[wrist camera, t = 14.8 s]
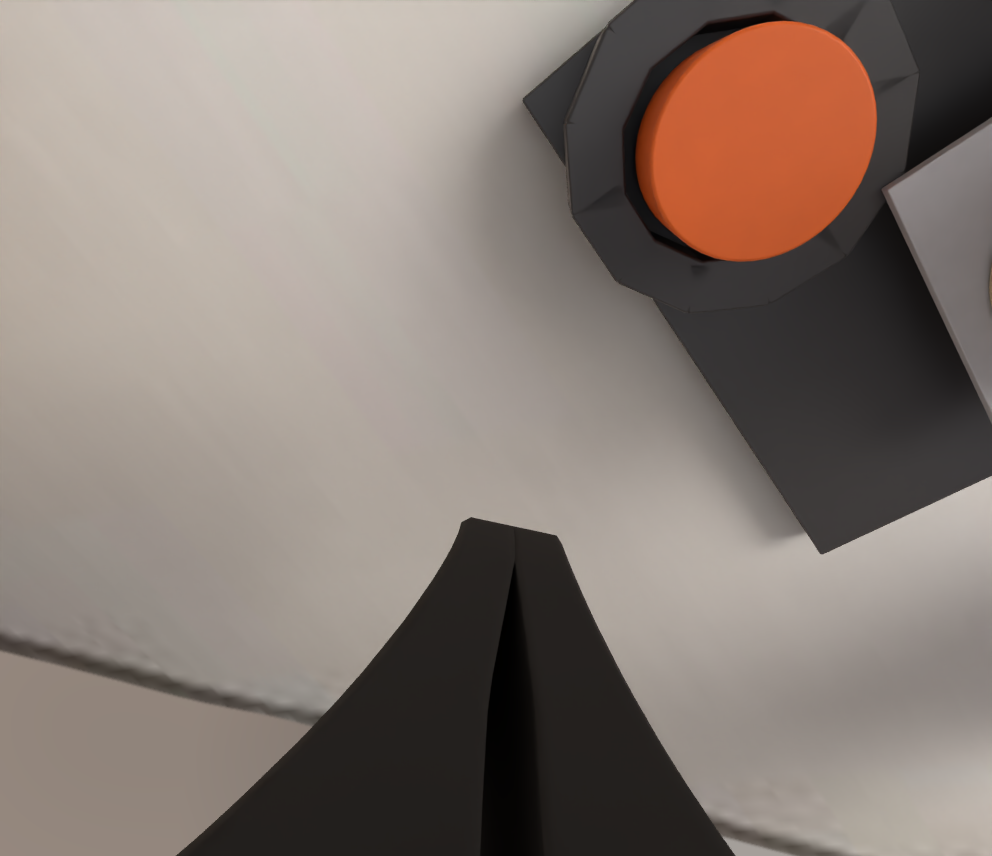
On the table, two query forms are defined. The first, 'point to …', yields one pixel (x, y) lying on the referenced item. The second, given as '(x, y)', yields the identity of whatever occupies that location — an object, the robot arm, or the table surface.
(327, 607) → the table surface
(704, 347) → the grey base plate
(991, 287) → the candle
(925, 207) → the tower
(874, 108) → the button
